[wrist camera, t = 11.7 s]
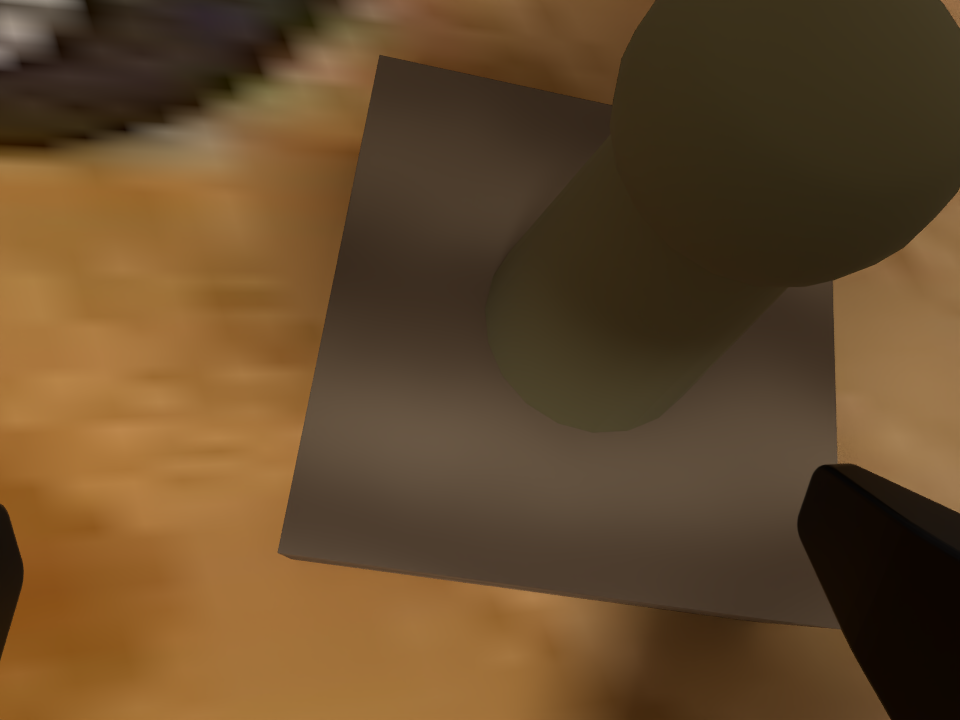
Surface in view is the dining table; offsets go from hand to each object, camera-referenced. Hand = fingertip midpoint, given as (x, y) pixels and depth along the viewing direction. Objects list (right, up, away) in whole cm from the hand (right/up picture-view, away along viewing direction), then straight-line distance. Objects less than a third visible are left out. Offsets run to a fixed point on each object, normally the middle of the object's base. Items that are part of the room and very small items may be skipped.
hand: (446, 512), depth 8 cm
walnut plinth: (+3, +2, +15) cm, 16 cm away
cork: (+3, +3, +12) cm, 13 cm away
